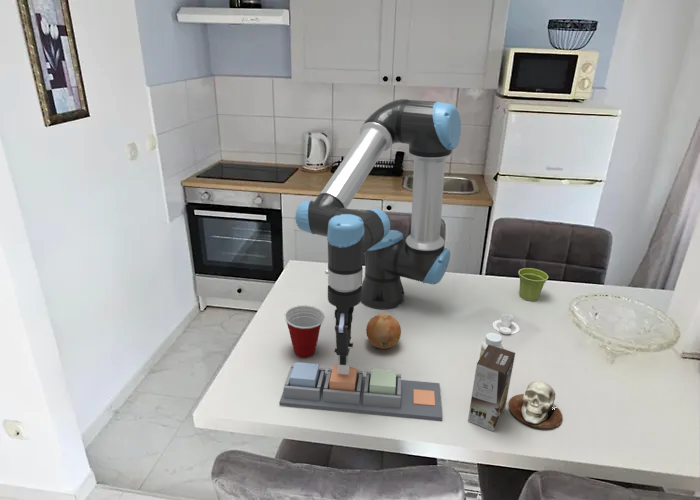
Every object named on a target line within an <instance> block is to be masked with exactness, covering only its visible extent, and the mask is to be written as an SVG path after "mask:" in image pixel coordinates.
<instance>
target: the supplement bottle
mask: <svg viewBox="0 0 700 500" xmlns="http://www.w3.org/2000/svg"><path fill="white" fill-rule="evenodd" d="M484 339H485V340H483V341H482V342H481V347H480V353H479V358H478V359H480V358H481V356H482V354H483V353H484V351H485V350H486V348H487V346H488V345H491V346H494V347H498V348H502V349H504V347H503V344H502V342H503V341H502V340H503V337H502V336H501V335H500V334H498V333H495V332H489V333H487V334H485V338H484Z"/></svg>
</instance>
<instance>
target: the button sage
mask: <svg viewBox="0 0 700 500" xmlns="http://www.w3.org/2000/svg"><path fill="white" fill-rule="evenodd" d="M370 372H371V379H370V391H369V393H374V394H385V395H395V388H396V374H397V370H393V369H392V370H391V369H381V368H379V369H378V368H371V370H370Z"/></svg>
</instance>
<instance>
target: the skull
mask: <svg viewBox="0 0 700 500" xmlns="http://www.w3.org/2000/svg"><path fill="white" fill-rule="evenodd" d="M555 399H556V392H555V390H554V388H553V387H552V386H551V385H550V384H549V383H547V382H546V381H542V380H533V381H531V382H529V383H528V384H527V387H526V390H525V392H524V393H523V394H521V393H520V394H515V395H514V396H512V397H511V398H510V399H509V401H508V408H509V411H510V412H511V414H512V415H513V416H514V417H515V418H516V419H518V420H519V421H520V422H522V423H524V424H526V425H528V426H530V427H533V428H537V429H539V428H540V429H555V428H556V427H558V426H559V425H560V424H562V421H563V415H562V411H561V410H560V409H559V408H558V407H557V405H555V404H554V403H555ZM553 406H554V407H557V408H555V410H554V409H553V408H552V407H553ZM552 409H553V410H552Z"/></svg>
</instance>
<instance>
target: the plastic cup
mask: <svg viewBox="0 0 700 500" xmlns="http://www.w3.org/2000/svg"><path fill="white" fill-rule="evenodd" d="M283 315H284V320H285V322H286V325H287V328H288V332H289V338H290V340H291V345H292V348H293V351H294V352H293V353H294V355H296V357H299V358H302V359H303V358H311V357H312V356H314V355H315V353H316V350H317V344H318V340H319V336H320V331H321V326H322V324H323V323H324V322H325V318H326V316H325V314H324V312H323V311H322V310H321V309H320V308H318V307H315V306H312V305H307V304H304V305H301V304H300V305H296V306H292V307H290V308H288V309H287V310H286V311H285V313H284V314H283Z"/></svg>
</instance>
